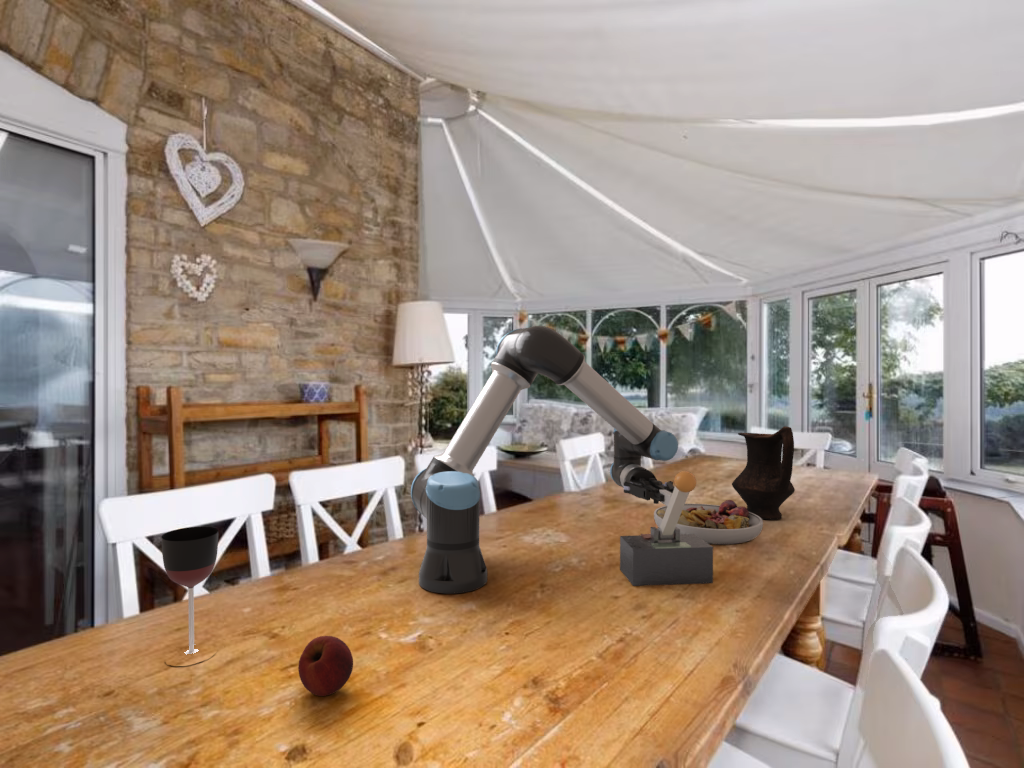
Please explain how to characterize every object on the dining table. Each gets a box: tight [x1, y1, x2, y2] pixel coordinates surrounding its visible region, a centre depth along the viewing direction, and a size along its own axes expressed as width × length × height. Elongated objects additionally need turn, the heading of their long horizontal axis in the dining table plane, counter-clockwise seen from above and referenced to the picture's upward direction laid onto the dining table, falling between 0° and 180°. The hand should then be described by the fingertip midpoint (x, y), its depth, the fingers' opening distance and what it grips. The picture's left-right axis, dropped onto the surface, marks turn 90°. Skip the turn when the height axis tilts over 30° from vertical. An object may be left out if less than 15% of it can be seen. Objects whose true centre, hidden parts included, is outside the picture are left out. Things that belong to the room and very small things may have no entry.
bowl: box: [653, 499, 764, 545], centre depth 163 cm, size 30×30×8 cm
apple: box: [297, 635, 354, 697], centre depth 81 cm, size 7×8×8 cm
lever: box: [656, 470, 697, 540], centre depth 120 cm, size 4×4×22 cm
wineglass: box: [160, 526, 219, 655], centre depth 91 cm, size 8×9×20 cm
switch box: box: [619, 526, 714, 587], centre depth 127 cm, size 10×18×11 cm, turn 95°
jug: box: [731, 426, 796, 521], centre depth 179 cm, size 21×18×30 cm
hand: (673, 501), depth 123 cm, fingers closed
